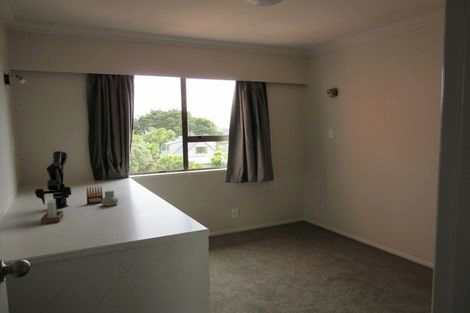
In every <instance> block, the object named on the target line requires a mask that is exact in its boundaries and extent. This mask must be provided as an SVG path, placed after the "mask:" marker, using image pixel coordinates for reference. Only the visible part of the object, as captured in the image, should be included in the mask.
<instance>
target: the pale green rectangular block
mask: <svg viewBox="0 0 470 313" xmlns="http://www.w3.org/2000/svg"><path fill="white" fill-rule="evenodd" d="M46 207H47V208H46V209H47V212H48V218H52V217H56V216H57V212H56V211H57V208H56V199H50V200H48V201H47V203H46Z"/></svg>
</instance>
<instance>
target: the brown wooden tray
mask: <svg viewBox="0 0 470 313" xmlns="http://www.w3.org/2000/svg"><path fill="white" fill-rule="evenodd" d="M56 212H57V216H56V217H52V218H48V211H46V212H45V213H44V215H43V216H42V217H41V218H40V225H45V224H47V225H48V224H56V223H58V224H59V223H60V222H61V221H62V219H63V217H64V211H63V210H56Z"/></svg>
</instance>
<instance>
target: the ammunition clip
mask: <svg viewBox="0 0 470 313" xmlns="http://www.w3.org/2000/svg"><path fill="white" fill-rule="evenodd" d="M103 195H104V194H103V187H102V186H100V187H99V186H98V185H97V186H95V187H94V186H92V187H91V186H89V187H88V186H87V187H86V205H93V204H95V203H96V204H102V203H101V200H102V199H103V198H104V196H103Z"/></svg>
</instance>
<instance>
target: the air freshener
mask: <svg viewBox="0 0 470 313" xmlns="http://www.w3.org/2000/svg"><path fill="white" fill-rule="evenodd" d="M118 203H119V199H118V197H116V196H115V191H114V190H111V189H109V190H105V191H104V196H103V199H102V200H101V203H100V204H101V205H103V206H105V207H112V206H115V205H117V204H118Z"/></svg>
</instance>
